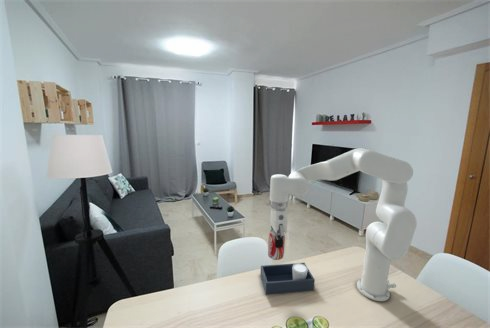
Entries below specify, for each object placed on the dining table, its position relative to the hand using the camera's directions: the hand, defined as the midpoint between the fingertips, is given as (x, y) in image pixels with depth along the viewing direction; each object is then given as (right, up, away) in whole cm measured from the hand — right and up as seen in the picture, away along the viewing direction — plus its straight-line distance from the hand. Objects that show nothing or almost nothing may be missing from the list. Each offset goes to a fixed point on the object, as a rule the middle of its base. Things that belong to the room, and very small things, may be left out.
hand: (276, 241), depth 97 cm
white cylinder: (+11, -20, +5) cm, 24 cm away
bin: (+5, -21, +5) cm, 22 cm away
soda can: (0, -7, +1) cm, 7 cm away
